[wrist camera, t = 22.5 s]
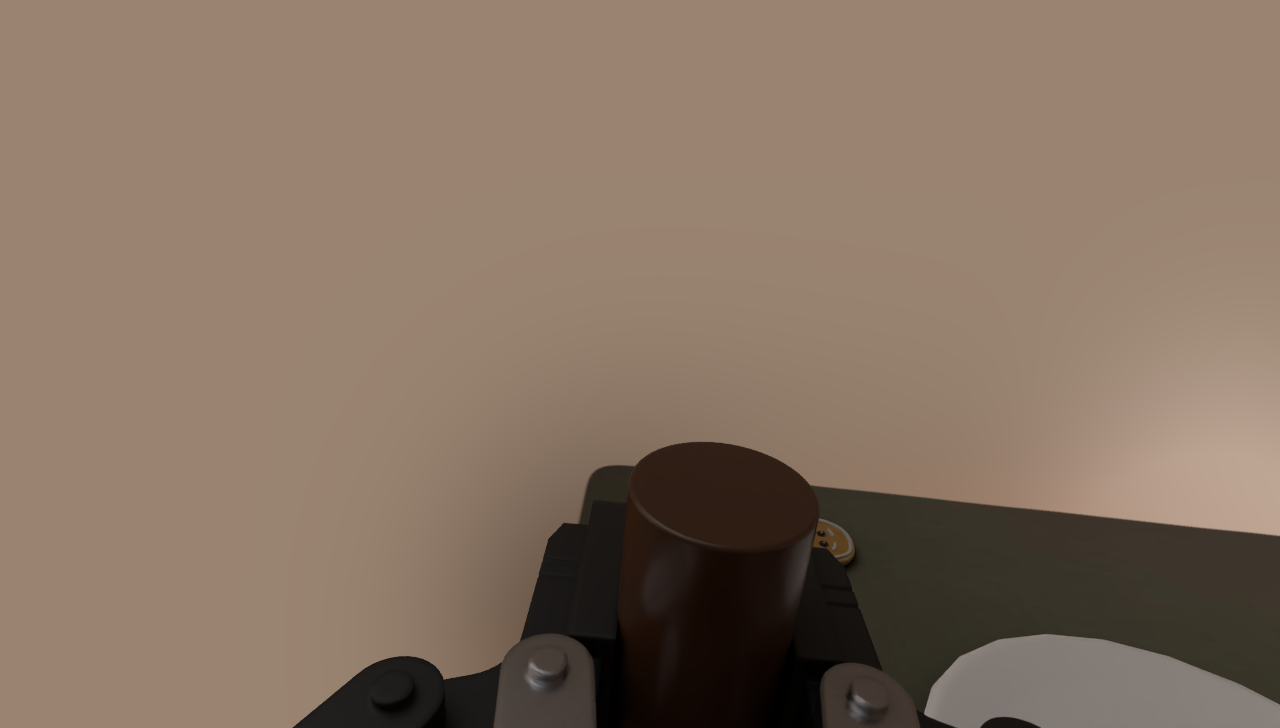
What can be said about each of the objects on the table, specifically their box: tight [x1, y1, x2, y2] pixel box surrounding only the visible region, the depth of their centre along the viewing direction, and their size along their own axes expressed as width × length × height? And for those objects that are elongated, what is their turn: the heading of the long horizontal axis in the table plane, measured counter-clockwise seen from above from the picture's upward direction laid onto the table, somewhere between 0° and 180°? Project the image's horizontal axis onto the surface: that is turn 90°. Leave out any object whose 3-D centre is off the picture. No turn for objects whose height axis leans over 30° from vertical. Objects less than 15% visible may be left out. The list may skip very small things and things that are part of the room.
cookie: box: [813, 519, 855, 566], centre depth 47 cm, size 8×1×10 cm
